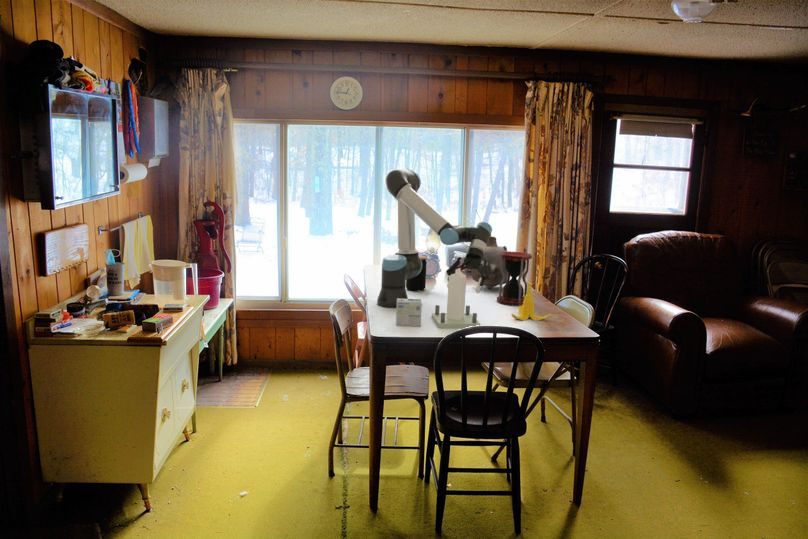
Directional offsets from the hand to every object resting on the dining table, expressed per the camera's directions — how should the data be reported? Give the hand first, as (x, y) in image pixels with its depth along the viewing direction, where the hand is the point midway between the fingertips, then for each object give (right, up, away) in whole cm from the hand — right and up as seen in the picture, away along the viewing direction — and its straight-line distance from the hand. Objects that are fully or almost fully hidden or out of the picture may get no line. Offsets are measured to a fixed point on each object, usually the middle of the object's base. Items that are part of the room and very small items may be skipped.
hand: (462, 289), depth 282 cm
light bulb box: (-24, -15, -9) cm, 30 cm away
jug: (+22, -2, +75) cm, 79 cm away
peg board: (-4, -14, -3) cm, 15 cm away
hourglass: (+29, -8, +43) cm, 52 cm away
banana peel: (+33, -14, +10) cm, 37 cm away
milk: (-3, -13, -3) cm, 14 cm away
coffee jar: (-20, -2, +64) cm, 67 cm away
